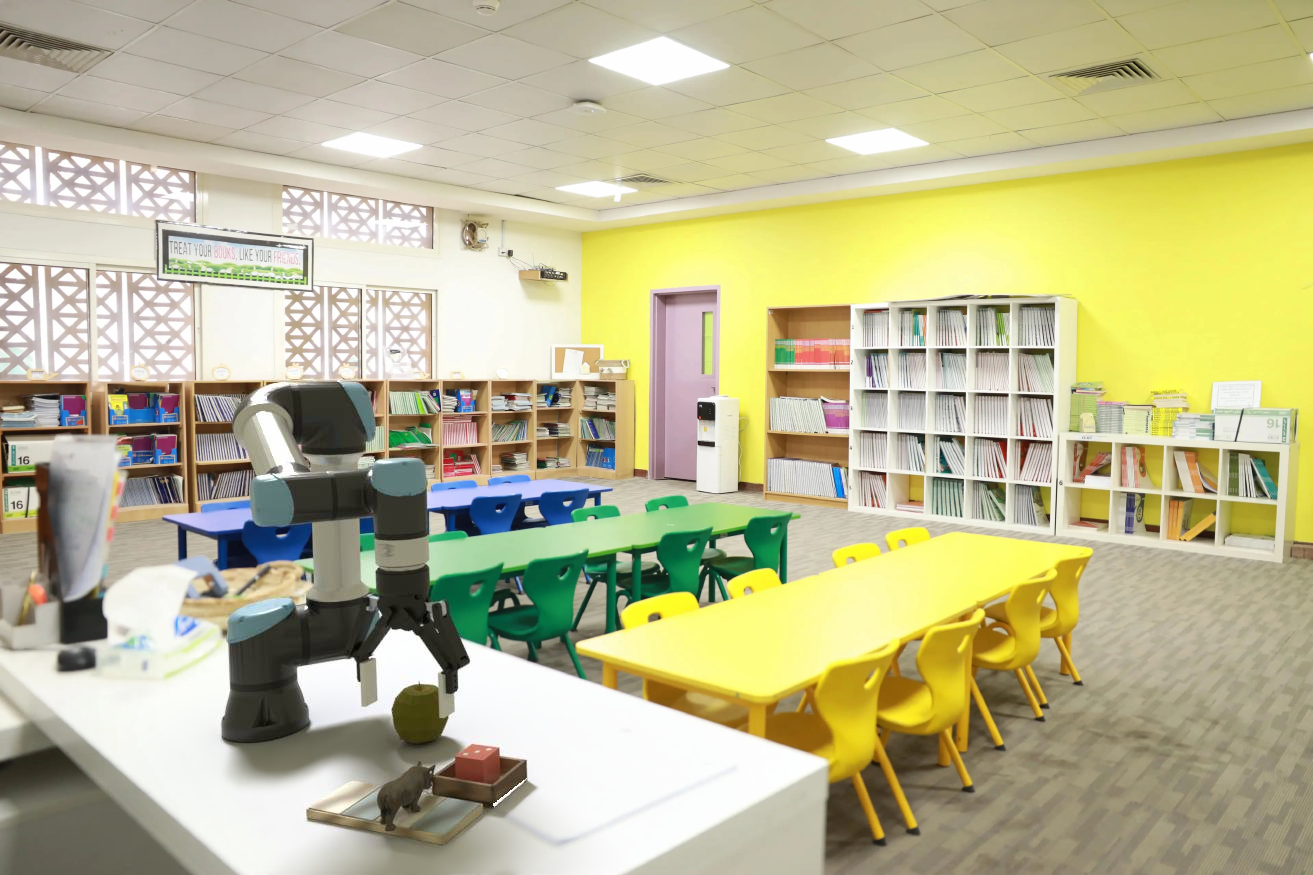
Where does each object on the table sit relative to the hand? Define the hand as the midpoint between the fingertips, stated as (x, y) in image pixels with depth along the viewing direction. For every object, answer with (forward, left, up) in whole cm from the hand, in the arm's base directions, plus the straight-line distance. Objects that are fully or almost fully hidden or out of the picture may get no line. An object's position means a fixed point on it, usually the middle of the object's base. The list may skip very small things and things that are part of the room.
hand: (407, 709), depth 129 cm
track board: (-3, 0, -16) cm, 17 cm away
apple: (-16, +24, -17) cm, 34 cm away
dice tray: (+5, +11, -16) cm, 20 cm away
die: (+4, +11, -15) cm, 20 cm away
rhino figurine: (0, 0, -15) cm, 15 cm away
